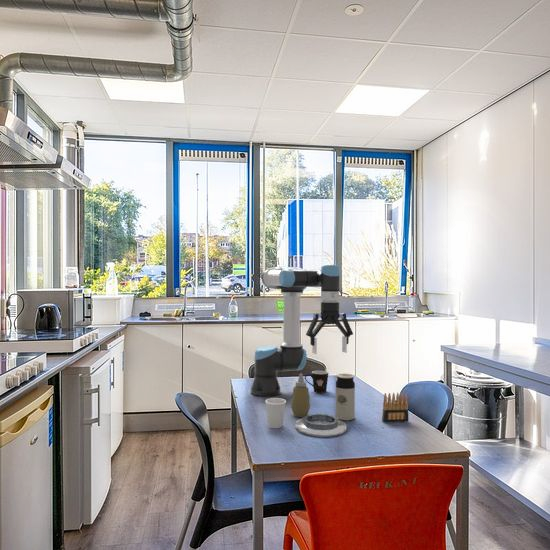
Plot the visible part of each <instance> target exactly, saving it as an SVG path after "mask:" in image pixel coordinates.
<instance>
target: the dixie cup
mask: <svg viewBox="0 0 550 550" xmlns="http://www.w3.org/2000/svg"><path fill="white" fill-rule="evenodd" d="M286 403H287V400H286V399H284V398H282V397H281V398H280V397H270V398H266V400H265V408H266V415H267V423H268V424H267V425H268V427H269V428H270V427H271V428H270V429H281V428H283V426H284V419H285V411H286Z"/></svg>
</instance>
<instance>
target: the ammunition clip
mask: <svg viewBox="0 0 550 550" xmlns="http://www.w3.org/2000/svg"><path fill="white" fill-rule="evenodd" d="M382 404H383V407H382V408H383V409H382V415H381V416H382V418H381V421H382V423H384V422H393V423H408V422H407V421H409V422H410V420H409V403H408V393H407V392H405V393H404V394H403V392H401V393H400V394H399V392H397V393H396V395H395V392H393V393H392V395H391V392H388V396H387V393H386V392H385V393H384V395H383V403H382ZM405 421H406V422H405Z"/></svg>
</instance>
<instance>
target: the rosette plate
mask: <svg viewBox="0 0 550 550" xmlns="http://www.w3.org/2000/svg"><path fill="white" fill-rule="evenodd" d="M335 416H336V415H335ZM335 416H334V415H332V414H326V413H312V414H308V415H307V416H305V417H300V418H298V419H297V420H296V421H295V422H294V423H295V424H294V425H295V430H296V431H297V432H298V433H300V434H302V435H305V436H308V437H316V438H332V436H335V437H339V436H341V434H342V435H344V434H345V433H346V432H347V424H346V423H345V422H344V420H340V419H337V418H336V417H335ZM343 433H344V434H343ZM338 435H339V436H338Z"/></svg>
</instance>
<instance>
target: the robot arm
mask: <svg viewBox="0 0 550 550" xmlns="http://www.w3.org/2000/svg"><path fill="white" fill-rule="evenodd" d="M340 276H341V274H340V266H339V265H337V264H322V266H321V269H303V268H302V267H299V266H271V267H268V268H266V269H265V270H264V271H263V272H262V274H261V283H262V284H263V285H264V287H267V288H268V289H273V290H280V293H281V295H282V296H283V341H282V343H280V348H278V346H276V345H265V346H260V347H258V348H257V349H255V351H254V357H253V358H254V378H253V380H252V381H253V382H252V385H251V387H250V393H251V394H252V395H254V396H257V395H259V396H258V397H274V396H278V395H280V394H281V385H280V383H279V380H278V372H292V371H293V372H296V371H302V370H303V369H304V367H305V366H306V364H307V357H308V356H307V350H306V348H304V347H303V346H304V345H303V344H302V343H301V339H300V338H301V296H302V295H303V294H304V290H305V289H307V288H321V289H320V301H321V302H320V313H316V312H315V313H313V316H312V317H313V318H312V320H311V323H310V325H309V327H308V329H307V331H306V332H305V335H306V336H307V337H309V339H310V340H309V341H310V346H311V347H312V349H311V352H312V354H314V355H317V344H318V343H317V337H316V336H317V335H319V333H320V331H321V330H322V329H323V327H324V326H325V325H335V326H336V327H337V329H339V331H340V332H341V333H342V337H341V339H342V340H341V341H342V343H341V345H342V346H341V352H342V353H345V354H346V353H347V352H348V351H347V350H348V347H347V346H348V345H349V340H350V339H349V338H350V337H351V336H352V335H354V333H353V330H352V328H351V326H350V323H349V321H348V319H347V314H346V312H341V313H340V303H339V302H340ZM319 319H320V321H319ZM339 319H341V321H342V324H343V325H342V324H341V321H340V320H339ZM318 321H319V322H318ZM317 323H318V324H317ZM316 325H317V326H316Z"/></svg>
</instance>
